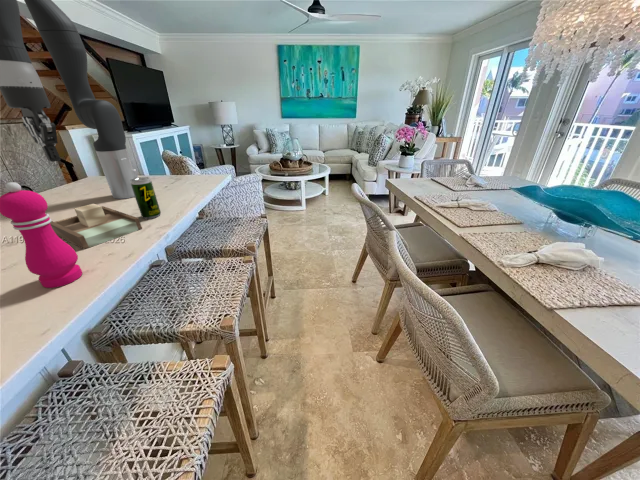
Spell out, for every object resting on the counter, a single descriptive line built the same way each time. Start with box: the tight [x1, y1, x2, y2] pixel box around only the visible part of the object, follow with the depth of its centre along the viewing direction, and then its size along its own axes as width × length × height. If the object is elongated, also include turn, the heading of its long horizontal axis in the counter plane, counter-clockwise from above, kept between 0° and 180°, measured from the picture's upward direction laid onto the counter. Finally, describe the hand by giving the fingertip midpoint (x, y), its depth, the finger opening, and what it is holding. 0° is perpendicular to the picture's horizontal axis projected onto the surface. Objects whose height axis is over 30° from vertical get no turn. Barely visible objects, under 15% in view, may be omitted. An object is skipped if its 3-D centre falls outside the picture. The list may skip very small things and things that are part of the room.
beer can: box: [131, 176, 162, 220], centre depth 82 cm, size 5×5×12 cm
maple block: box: [73, 203, 107, 227], centre depth 72 cm, size 4×4×4 cm
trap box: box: [50, 205, 143, 250], centre depth 74 cm, size 14×20×3 cm
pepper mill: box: [0, 181, 83, 289], centre depth 49 cm, size 7×7×20 cm
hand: (54, 161), depth 70 cm, fingers closed
